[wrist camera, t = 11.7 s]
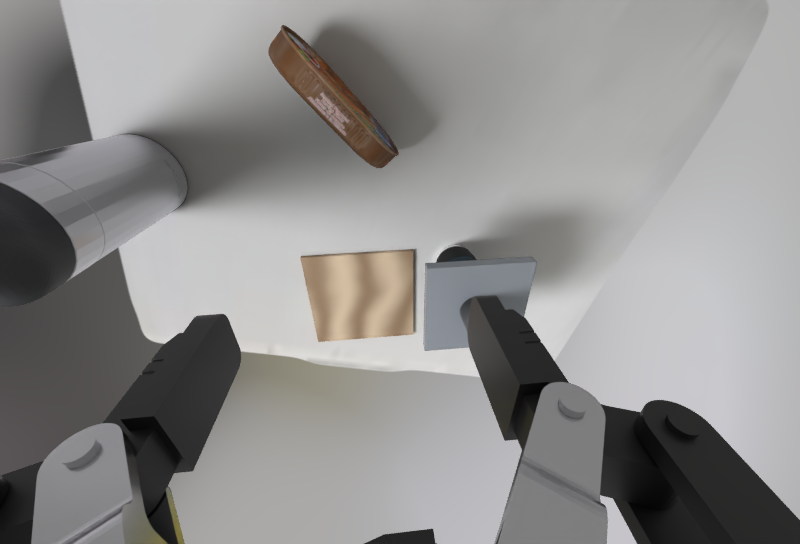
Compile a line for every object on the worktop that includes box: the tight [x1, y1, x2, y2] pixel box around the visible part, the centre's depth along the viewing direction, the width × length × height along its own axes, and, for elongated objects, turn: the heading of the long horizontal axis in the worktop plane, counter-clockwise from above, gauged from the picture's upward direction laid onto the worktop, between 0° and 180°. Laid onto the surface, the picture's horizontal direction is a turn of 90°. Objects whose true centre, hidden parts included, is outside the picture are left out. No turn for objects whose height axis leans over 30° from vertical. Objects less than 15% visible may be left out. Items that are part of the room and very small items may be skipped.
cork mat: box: [301, 250, 413, 342], centre depth 49 cm, size 16×16×1 cm
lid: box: [423, 257, 537, 351], centre depth 35 cm, size 12×12×7 cm
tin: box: [269, 25, 399, 168], centre depth 32 cm, size 15×3×8 cm, turn 43°
